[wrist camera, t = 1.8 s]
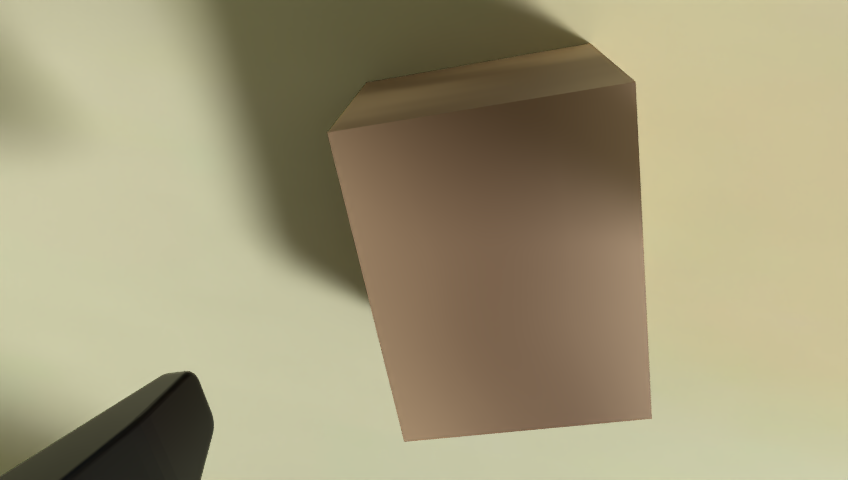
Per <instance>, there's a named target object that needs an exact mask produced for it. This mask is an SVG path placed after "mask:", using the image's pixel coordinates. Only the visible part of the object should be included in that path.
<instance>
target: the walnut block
mask: <svg viewBox="0 0 848 480" xmlns="http://www.w3.org/2000/svg"><path fill="white" fill-rule="evenodd" d="M327 134H328V138H329V142H330V146H331V150H332V154H333V158H334V162H335V166H336V170H337V174H338V178H339V182H340V186H341V190H342V194H343V198H344V202H345V206H346V210H347V214H348V218H349V222H350V226H351V230H352V234H353V238H354V242H355V246H356V250H357V254H358V258H359V262H360V266H361V270H362V274H363V278H364V282H365V286H366V290H367V294H368V298H369V302H370V306H371V310H372V314H373V318H374V322H375V326H376V330H377V334H378V338H379V342H380V346H381V350H382V354H383V358H384V362H385V366H386V370H387V374H388V378H389V382H390V386H391V390H392V394H393V398H394V402H395V406H396V410H397V414H398V418H399V422H400V426H401V430H402V434H403V438H404V442H407V441H417V440H428V439H439V438H449V437H460V436H471V435H482V434H492V433H503V432H514V431H524V430H535V429H546V428H556V427H567V426H578V425H588V424H599V423H610V422H620V421H631V420H642V419H652V414H651V393H650V372H649V352H648V331H647V310H646V290H645V269H644V248H643V228H642V207H641V186H640V166H639V145H638V125H637V104H636V83H635V81H634V80H633V79H632V78H630V77H629V76H628V75H627V74H626V73H625V72H623V71H622V70H621V69H620V68H619V67H618V66H616V65H615V64H614V63H613V62H612V61H610V60H609V59H608V58H607V57H606V56H605V55H603V54H602V53H601V52H600V51H599V50H597V49H596V48H595V47H594V46H593V45H592V44H590V43H589V44H583V45H577V46H572V47H566V48H560V49H555V50H549V51H543V52H538V53H532V54H526V55H520V56H515V57H509V58H503V59H498V60H492V61H486V62H480V63H475V64H469V65H463V66H458V67H452V68H446V69H440V70H435V71H429V72H423V73H418V74H412V75H406V76H401V77H395V78H389V79H383V80H378V81H372V82H366V84H365V85H364V86H363V87H362V89H361V90H360V91H359V92H358V94H357V95H356V96H355V98H354V99H353V100H352V101H351V103H350V104H349V105H348V107H347V108H346V109H345V110H344V112H343V113H342V114H341V115H340V117H339V118H338V119H337V121H336V122H335V123H334V124H333V126H332V127H331V128H330V130H329V131H328V132H327Z"/></svg>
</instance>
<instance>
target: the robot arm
mask: <svg viewBox="0 0 848 480" xmlns="http://www.w3.org/2000/svg"><path fill="white" fill-rule="evenodd" d="M213 429H214V421H213V416H212V412H211V410H210V407H209V405H208V402H207V400H206V397H205V395H204V392H203V389H202V387H201V384H200V382H199V380H198V378H197V376H196V375H195V374H194V373H192V372H190V371H184V372H175V373H167V374H164V375H162V376H160V377H158V378H157V379H155V380H154V381H152V382H150V383H149V384H147V385H146V386H144V387H142V388H141V389H139V390H138V391H136V392H134V393H133V394H131V395H130V396H128V397H126V398H125V399H123V400H122V401H120V402H118V403H117V404H115V405H114V406H112V407H110V408H109V409H107V410H106V411H104V412H102V413H101V414H99V415H98V416H96V417H94V418H93V419H91V420H90V421H88V422H86V423H85V424H83V425H82V426H80V427H78V428H77V429H75V430H74V431H72V432H70V433H69V434H67V435H66V436H64V437H62V438H61V439H59V440H58V441H56V442H54V443H53V444H51V445H50V446H48V447H46V448H45V449H43V450H42V451H40V452H38V453H37V454H35V455H34V456H32V457H30V458H29V459H27V460H26V461H24V462H22V463H21V464H19V465H18V466H16V467H14V468H13V469H11V470H10V471H8V472H6V473H5V474H3V475H2V476H0V480H201V477H202V473H203V469H204V465H205V461H206V458H207V454H208V450H209V446H210V442H211V439H212V435H213Z"/></svg>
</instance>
